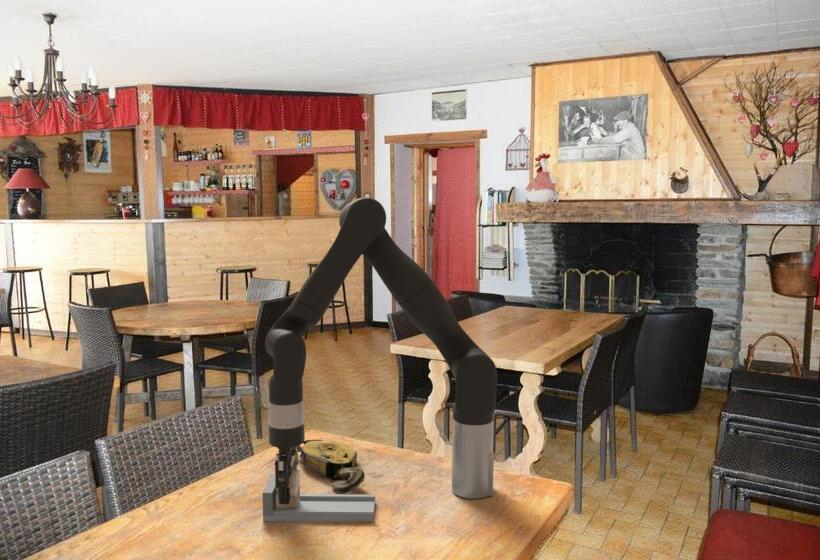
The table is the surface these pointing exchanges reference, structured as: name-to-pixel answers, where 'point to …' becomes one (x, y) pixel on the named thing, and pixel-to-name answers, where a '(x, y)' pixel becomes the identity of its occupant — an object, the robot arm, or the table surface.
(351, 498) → the rail
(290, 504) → the block
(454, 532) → the table surface
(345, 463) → the pulley block
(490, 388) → the robot arm
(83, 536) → the table surface
